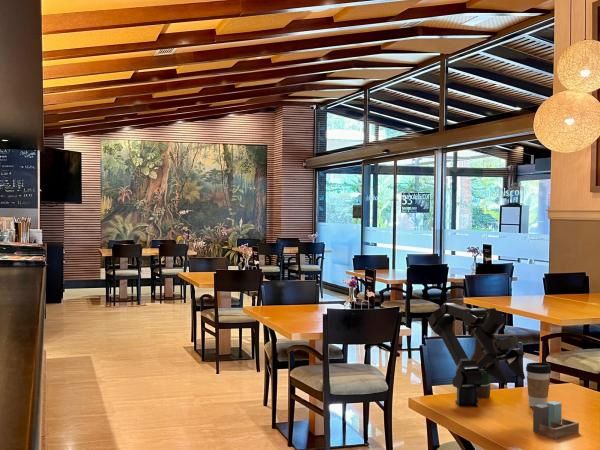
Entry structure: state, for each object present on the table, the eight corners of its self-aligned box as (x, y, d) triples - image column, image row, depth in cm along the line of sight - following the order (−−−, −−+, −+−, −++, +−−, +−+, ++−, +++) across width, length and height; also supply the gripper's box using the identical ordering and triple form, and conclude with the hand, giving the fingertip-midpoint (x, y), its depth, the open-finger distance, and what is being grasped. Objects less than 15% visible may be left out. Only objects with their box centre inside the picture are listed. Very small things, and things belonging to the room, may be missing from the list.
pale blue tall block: (546, 427, 210) (546, 402, 210) (552, 425, 212) (553, 400, 212) (554, 430, 208) (554, 404, 208) (561, 428, 210) (561, 403, 210)
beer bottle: (478, 399, 242) (479, 333, 242) (464, 394, 249) (465, 330, 249) (494, 397, 246) (495, 332, 246) (479, 392, 253) (481, 329, 252)
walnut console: (539, 434, 204) (539, 424, 204) (562, 428, 210) (563, 418, 210) (555, 439, 199) (555, 429, 199) (578, 432, 206) (578, 423, 206)
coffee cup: (552, 410, 230) (553, 366, 230) (526, 408, 232) (527, 365, 231) (548, 403, 238) (549, 361, 238) (523, 402, 240) (524, 360, 240)
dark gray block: (533, 431, 207) (533, 405, 207) (540, 429, 209) (540, 403, 208) (541, 433, 204) (541, 407, 204) (548, 431, 206) (548, 406, 206)
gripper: (485, 329, 214) (513, 371, 205) (520, 324, 225) (548, 363, 216) (465, 349, 220) (491, 390, 212) (500, 343, 231) (526, 382, 223)
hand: (515, 381), depth 216 cm, fingers open, 9 cm apart
